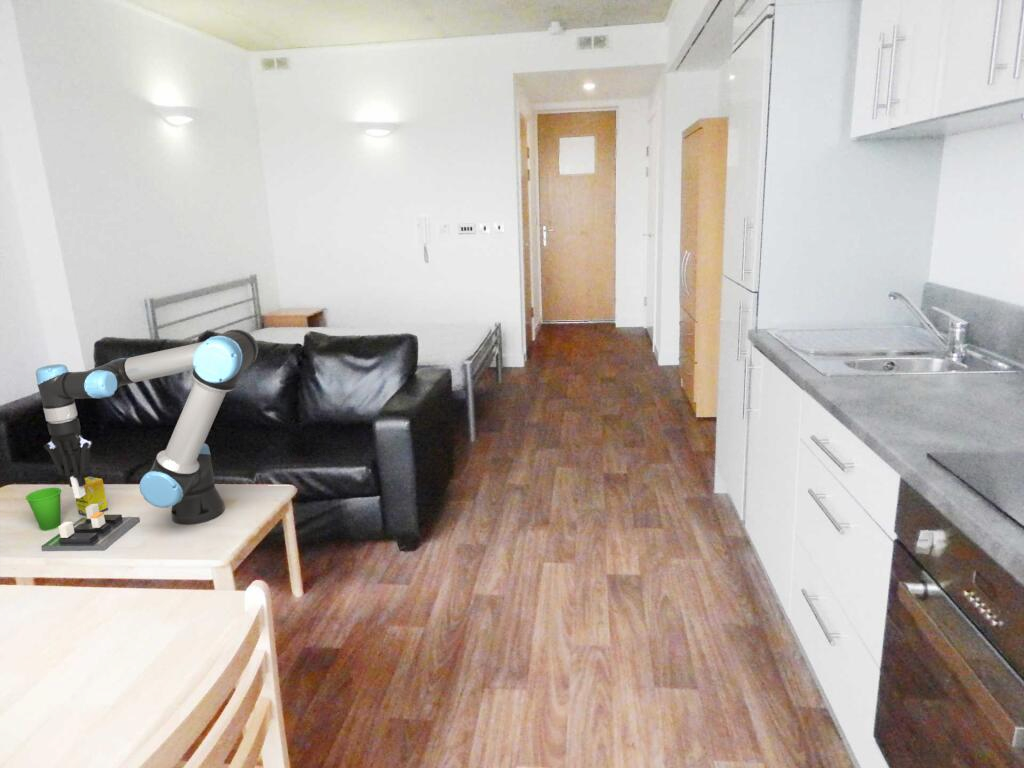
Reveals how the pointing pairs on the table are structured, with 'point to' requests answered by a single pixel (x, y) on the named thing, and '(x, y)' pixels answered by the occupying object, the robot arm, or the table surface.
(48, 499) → the cup
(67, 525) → the handle
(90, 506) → the handle
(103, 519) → the handle
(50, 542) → the panel
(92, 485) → the supplement box
